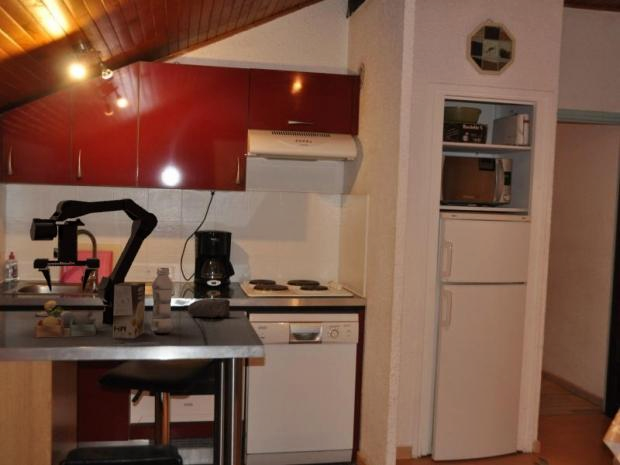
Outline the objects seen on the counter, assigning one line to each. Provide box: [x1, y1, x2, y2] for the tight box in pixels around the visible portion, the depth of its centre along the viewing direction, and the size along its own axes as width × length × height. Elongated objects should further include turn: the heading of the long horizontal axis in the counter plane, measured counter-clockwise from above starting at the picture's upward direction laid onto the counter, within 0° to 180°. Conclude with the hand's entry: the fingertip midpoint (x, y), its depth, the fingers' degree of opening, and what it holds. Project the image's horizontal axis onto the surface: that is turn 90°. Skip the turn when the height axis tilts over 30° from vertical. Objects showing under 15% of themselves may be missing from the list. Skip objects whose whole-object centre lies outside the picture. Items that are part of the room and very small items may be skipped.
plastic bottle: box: [150, 267, 174, 335], centre depth 179 cm, size 6×7×20 cm
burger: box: [34, 300, 73, 318], centre depth 202 cm, size 12×12×8 cm
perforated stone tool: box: [187, 298, 231, 319], centre depth 212 cm, size 15×5×7 cm, turn 92°
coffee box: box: [112, 281, 146, 339], centre depth 170 cm, size 9×6×16 cm
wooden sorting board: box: [34, 317, 97, 338], centre depth 174 cm, size 16×20×4 cm
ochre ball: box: [42, 316, 58, 326], centre depth 172 cm, size 4×4×4 cm
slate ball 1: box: [59, 311, 76, 326], centre depth 180 cm, size 4×4×4 cm
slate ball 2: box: [75, 315, 91, 325], centre depth 175 cm, size 4×4×4 cm
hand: (67, 291), depth 180 cm, fingers open, 9 cm apart
